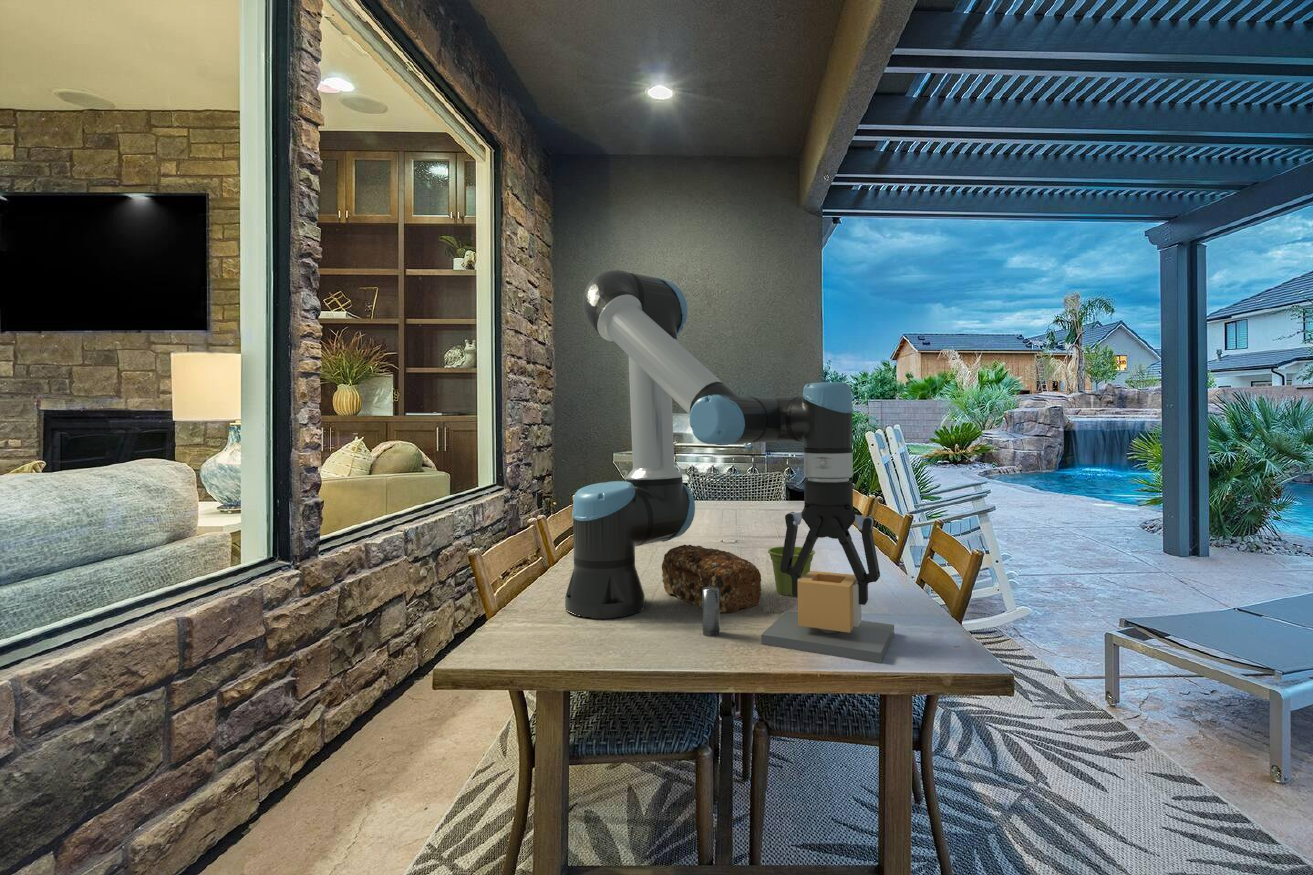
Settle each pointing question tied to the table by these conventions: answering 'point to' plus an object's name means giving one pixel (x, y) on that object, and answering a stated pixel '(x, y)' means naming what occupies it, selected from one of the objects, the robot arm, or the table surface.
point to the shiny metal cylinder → (711, 611)
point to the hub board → (831, 638)
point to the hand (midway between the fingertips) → (829, 620)
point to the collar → (826, 601)
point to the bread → (711, 577)
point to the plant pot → (785, 579)
